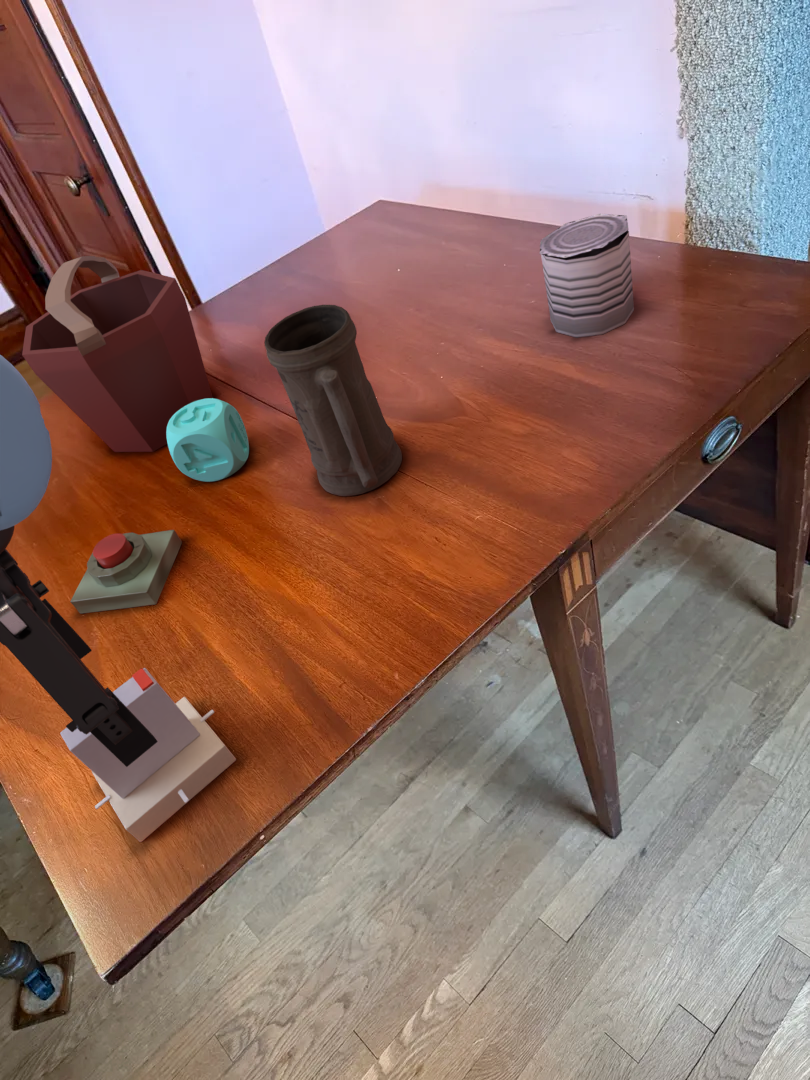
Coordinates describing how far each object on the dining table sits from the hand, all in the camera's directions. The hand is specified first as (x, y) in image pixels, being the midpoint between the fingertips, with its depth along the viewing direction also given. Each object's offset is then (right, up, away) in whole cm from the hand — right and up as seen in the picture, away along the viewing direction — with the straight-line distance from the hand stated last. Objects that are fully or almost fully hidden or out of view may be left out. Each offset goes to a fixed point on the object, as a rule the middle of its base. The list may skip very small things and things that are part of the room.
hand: (106, 701), depth 60 cm
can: (+50, +44, +44) cm, 79 cm away
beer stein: (+20, +20, +31) cm, 42 cm away
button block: (-8, +8, +29) cm, 31 cm away
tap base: (+3, -8, +7) cm, 11 cm away
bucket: (-14, +31, +55) cm, 65 cm away
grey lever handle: (+2, -6, +5) cm, 8 cm away
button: (-9, +11, +27) cm, 30 cm away
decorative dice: (-1, +23, +42) cm, 48 cm away
